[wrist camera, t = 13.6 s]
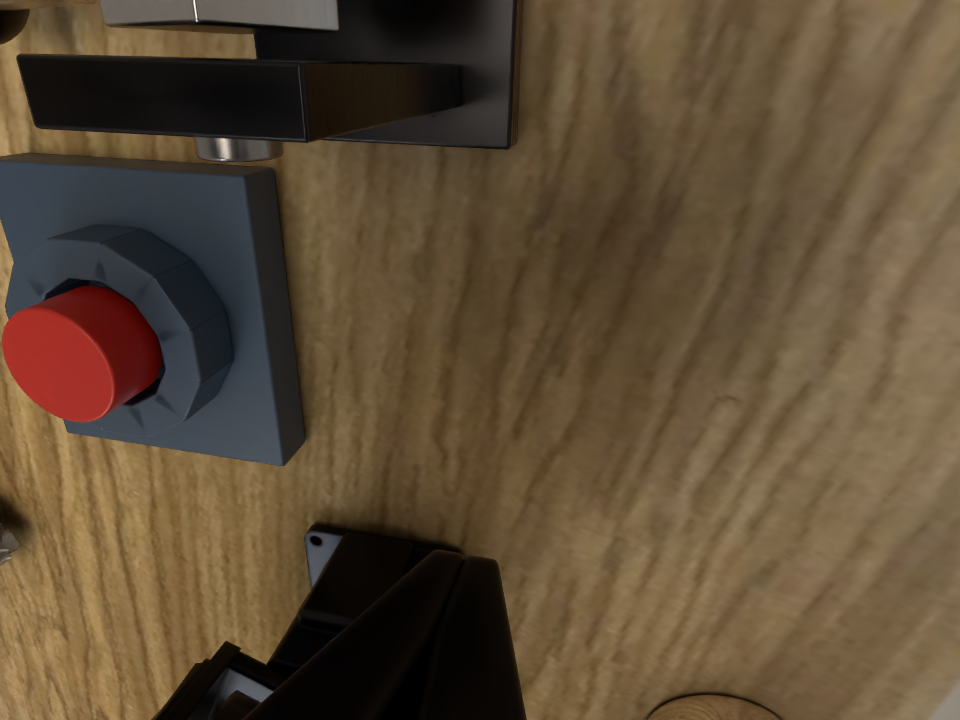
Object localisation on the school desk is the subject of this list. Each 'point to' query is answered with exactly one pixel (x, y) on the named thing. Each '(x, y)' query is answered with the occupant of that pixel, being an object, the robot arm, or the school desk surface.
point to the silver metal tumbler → (711, 709)
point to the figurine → (7, 544)
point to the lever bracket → (308, 84)
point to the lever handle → (192, 15)
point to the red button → (82, 352)
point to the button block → (170, 290)
